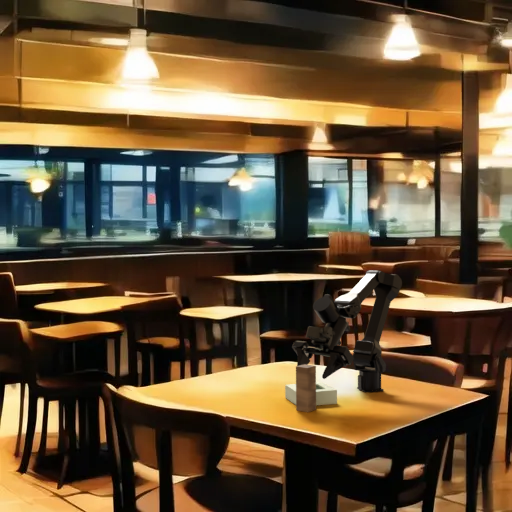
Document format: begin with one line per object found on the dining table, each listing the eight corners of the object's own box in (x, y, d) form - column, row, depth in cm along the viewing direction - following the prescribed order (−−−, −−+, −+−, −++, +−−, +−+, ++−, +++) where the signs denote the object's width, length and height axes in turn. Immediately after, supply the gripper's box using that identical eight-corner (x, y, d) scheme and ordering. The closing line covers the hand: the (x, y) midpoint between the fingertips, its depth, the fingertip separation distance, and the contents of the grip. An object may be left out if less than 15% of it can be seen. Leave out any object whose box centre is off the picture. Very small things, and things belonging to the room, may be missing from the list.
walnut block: (304, 407, 213) (304, 364, 212) (316, 409, 210) (315, 365, 209) (296, 410, 210) (295, 366, 209) (307, 412, 207) (307, 368, 206)
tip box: (322, 394, 228) (322, 381, 228) (337, 403, 217) (336, 390, 216) (285, 397, 225) (285, 384, 225) (298, 406, 213) (298, 393, 213)
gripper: (295, 313, 220) (272, 355, 213) (347, 318, 208) (324, 362, 200) (311, 337, 227) (289, 378, 219) (363, 342, 214) (341, 386, 206)
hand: (310, 376), depth 211 cm, fingers open, 9 cm apart
